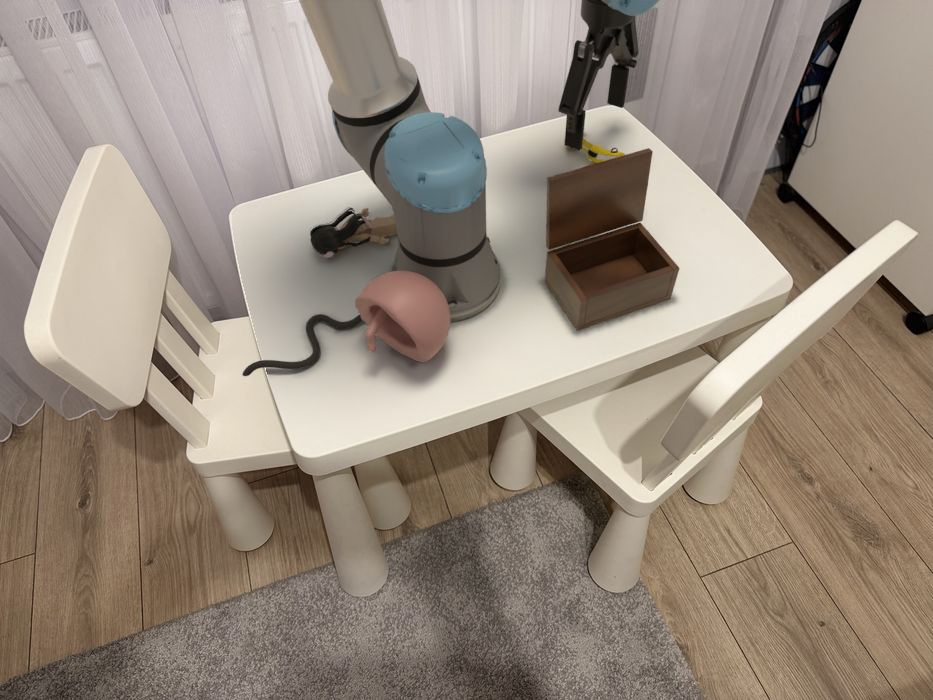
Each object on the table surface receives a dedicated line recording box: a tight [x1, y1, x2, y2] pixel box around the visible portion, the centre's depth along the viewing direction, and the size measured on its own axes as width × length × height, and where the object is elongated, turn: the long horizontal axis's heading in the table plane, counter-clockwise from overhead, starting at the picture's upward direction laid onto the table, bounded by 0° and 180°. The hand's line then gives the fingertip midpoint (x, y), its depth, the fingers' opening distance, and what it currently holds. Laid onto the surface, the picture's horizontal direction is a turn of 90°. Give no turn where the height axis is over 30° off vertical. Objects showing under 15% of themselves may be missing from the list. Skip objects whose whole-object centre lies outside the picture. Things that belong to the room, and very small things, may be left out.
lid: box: [545, 147, 653, 251], centre depth 88 cm, size 11×14×1 cm
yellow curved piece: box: [569, 138, 626, 164], centre depth 112 cm, size 10×6×4 cm, turn 38°
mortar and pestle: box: [354, 270, 451, 363], centre depth 84 cm, size 12×12×12 cm
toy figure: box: [308, 206, 398, 259], centre depth 100 cm, size 7×6×15 cm
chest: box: [544, 222, 680, 332], centre depth 91 cm, size 10×14×6 cm
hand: (594, 125), depth 109 cm, fingers open, 13 cm apart
